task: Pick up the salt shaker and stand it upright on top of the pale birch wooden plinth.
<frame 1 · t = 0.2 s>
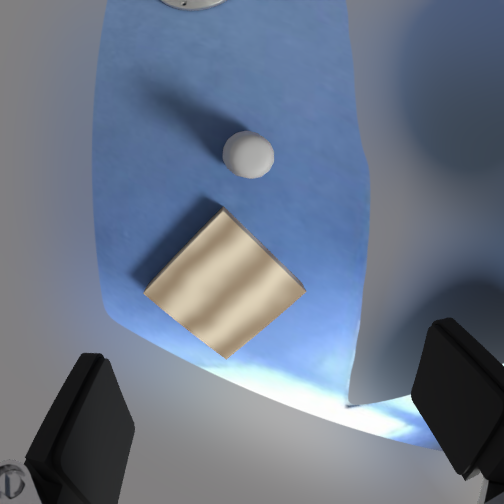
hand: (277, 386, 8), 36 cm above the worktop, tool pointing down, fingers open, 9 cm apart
salt shaker: (245, 153, 41), on the worktop
plinth: (224, 284, 46), on the worktop
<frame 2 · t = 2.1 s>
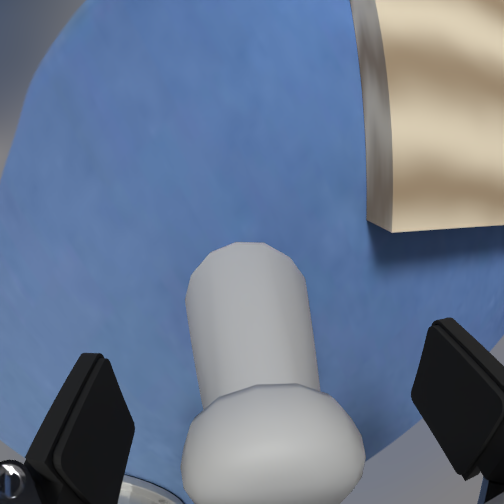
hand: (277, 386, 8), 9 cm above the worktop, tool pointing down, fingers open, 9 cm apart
salt shaker: (243, 281, 18), on the worktop
plinth: (466, 95, 15), on the worktop
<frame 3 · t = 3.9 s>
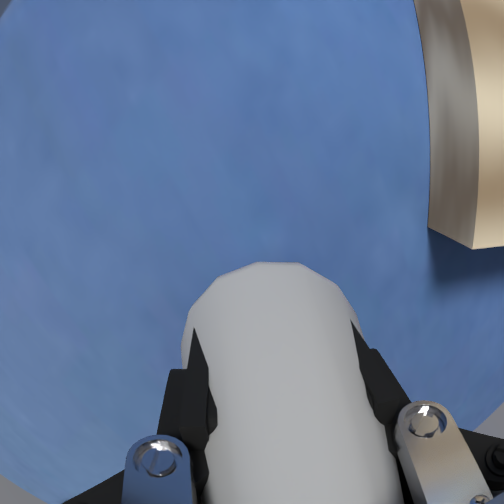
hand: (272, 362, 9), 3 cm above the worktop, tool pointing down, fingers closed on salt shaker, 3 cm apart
salt shaker: (263, 309, 13), on the worktop, touching gripper
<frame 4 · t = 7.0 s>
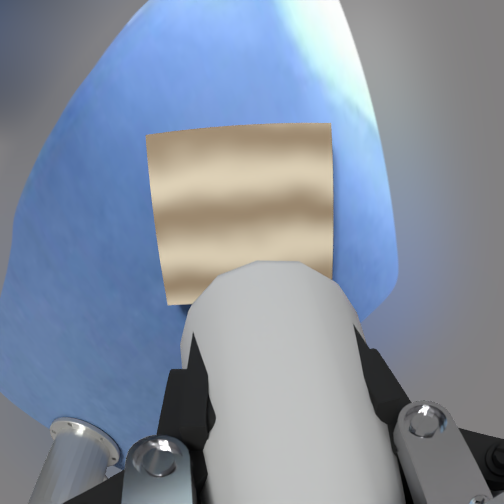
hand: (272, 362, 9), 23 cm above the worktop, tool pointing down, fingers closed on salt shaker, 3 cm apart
salt shaker: (263, 308, 13), point 19 cm above the worktop, touching gripper
plinth: (243, 210, 31), on the worktop
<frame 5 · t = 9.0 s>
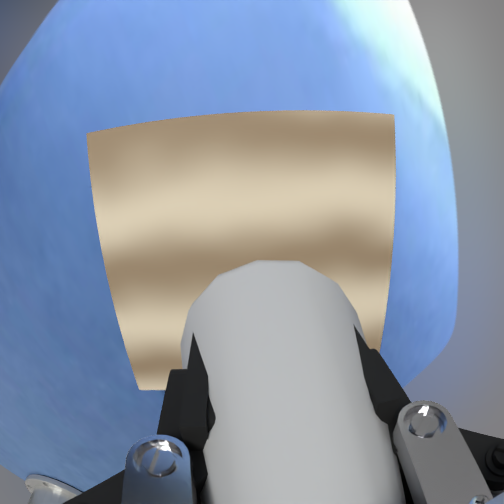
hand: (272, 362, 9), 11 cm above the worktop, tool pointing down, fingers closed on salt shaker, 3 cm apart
salt shaker: (263, 308, 13), point 8 cm above the worktop, touching gripper
plinth: (249, 251, 20), on the worktop
when the fingers open (7 cm above the worktop, at t = 10.4 s): salt shaker drops 1 cm, resting on plinth.
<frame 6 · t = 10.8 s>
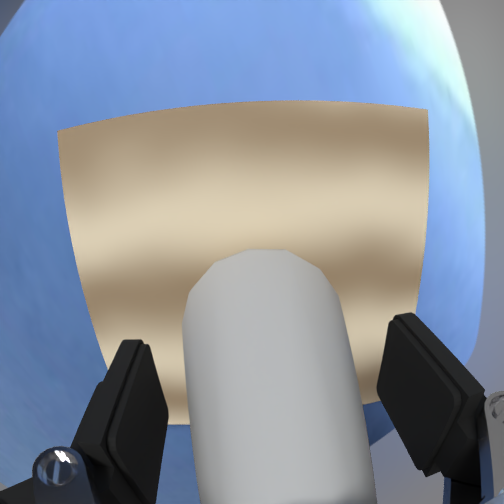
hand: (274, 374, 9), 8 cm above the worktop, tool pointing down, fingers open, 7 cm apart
salt shaker: (257, 295, 14), point 3 cm above the worktop, touching plinth
plinth: (253, 270, 17), on the worktop
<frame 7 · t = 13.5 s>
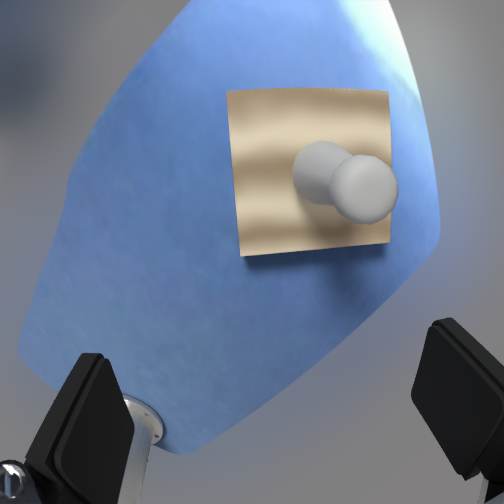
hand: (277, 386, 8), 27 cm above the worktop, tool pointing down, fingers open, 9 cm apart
salt shaker: (316, 170, 30), point 3 cm above the worktop, touching plinth
plinth: (310, 167, 32), on the worktop
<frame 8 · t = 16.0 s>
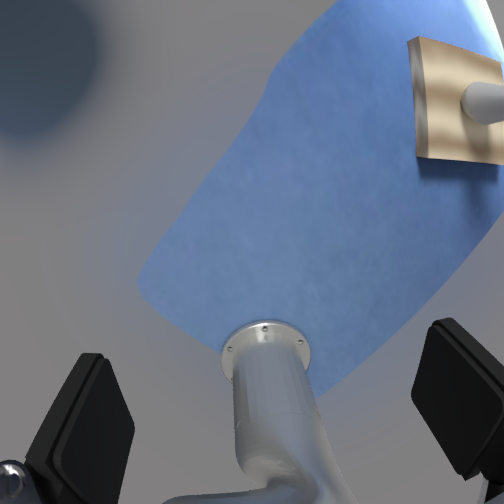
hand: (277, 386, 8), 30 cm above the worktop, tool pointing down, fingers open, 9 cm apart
salt shaker: (470, 104, 32), point 3 cm above the worktop, touching plinth
plinth: (458, 104, 34), on the worktop
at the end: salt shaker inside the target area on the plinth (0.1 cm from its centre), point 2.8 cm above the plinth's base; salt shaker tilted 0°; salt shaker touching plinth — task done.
